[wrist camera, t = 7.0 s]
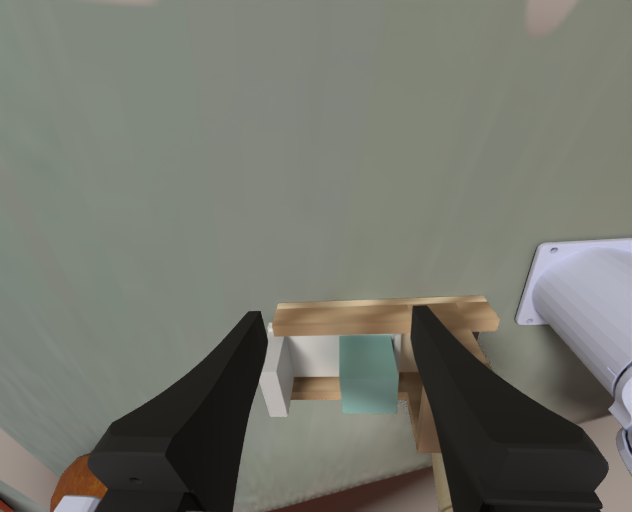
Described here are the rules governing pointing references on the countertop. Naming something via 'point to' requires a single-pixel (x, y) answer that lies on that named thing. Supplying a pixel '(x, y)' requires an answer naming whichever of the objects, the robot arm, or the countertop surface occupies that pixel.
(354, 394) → the block
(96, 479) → the bread
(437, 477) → the flower pot
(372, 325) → the wooden frame
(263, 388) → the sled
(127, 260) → the countertop surface
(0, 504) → the cracker box
